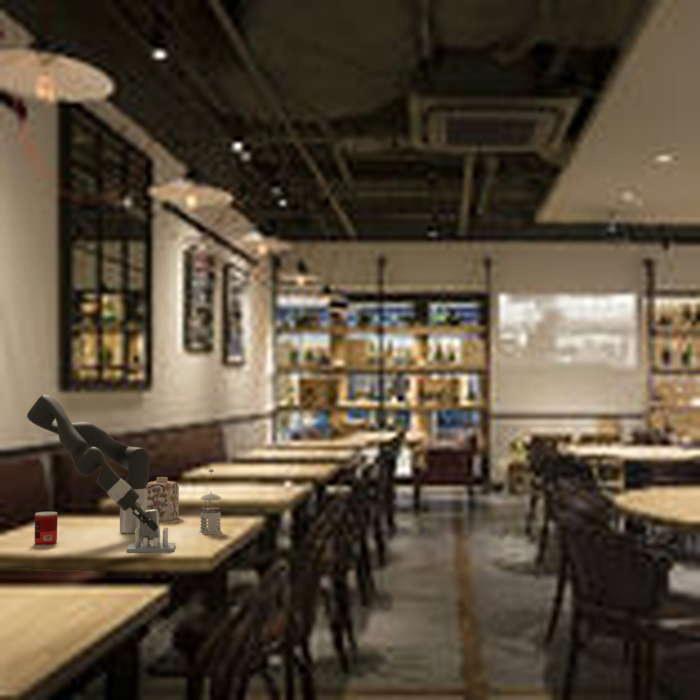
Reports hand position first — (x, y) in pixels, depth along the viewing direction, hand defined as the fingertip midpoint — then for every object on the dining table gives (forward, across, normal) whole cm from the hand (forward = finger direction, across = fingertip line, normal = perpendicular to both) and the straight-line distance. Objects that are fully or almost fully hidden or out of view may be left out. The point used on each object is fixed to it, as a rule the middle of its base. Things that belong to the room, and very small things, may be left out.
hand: (156, 528), depth 338 cm
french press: (+18, -36, +7) cm, 41 cm away
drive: (+1, 0, -4) cm, 4 cm away
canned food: (-24, -16, -34) cm, 44 cm away
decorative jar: (+3, -75, -8) cm, 76 cm away
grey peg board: (+4, 0, -6) cm, 8 cm away
